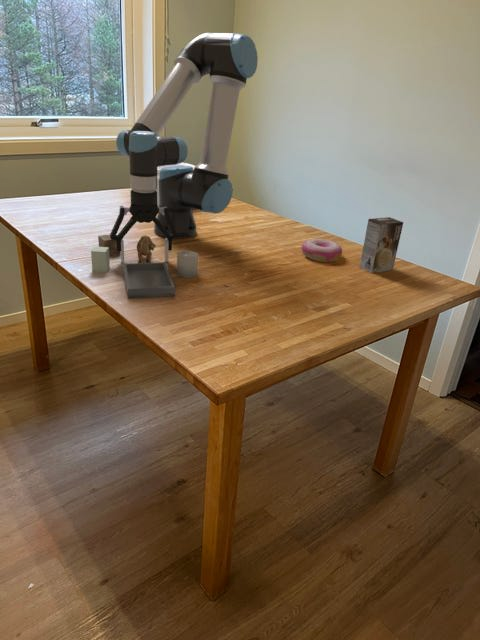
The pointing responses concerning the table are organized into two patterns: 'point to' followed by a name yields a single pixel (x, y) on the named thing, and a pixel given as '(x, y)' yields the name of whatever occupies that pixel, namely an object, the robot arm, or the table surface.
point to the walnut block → (108, 244)
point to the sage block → (100, 259)
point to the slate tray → (148, 280)
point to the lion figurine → (145, 248)
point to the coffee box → (381, 244)
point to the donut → (322, 250)
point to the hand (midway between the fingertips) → (144, 261)
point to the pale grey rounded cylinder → (187, 264)
